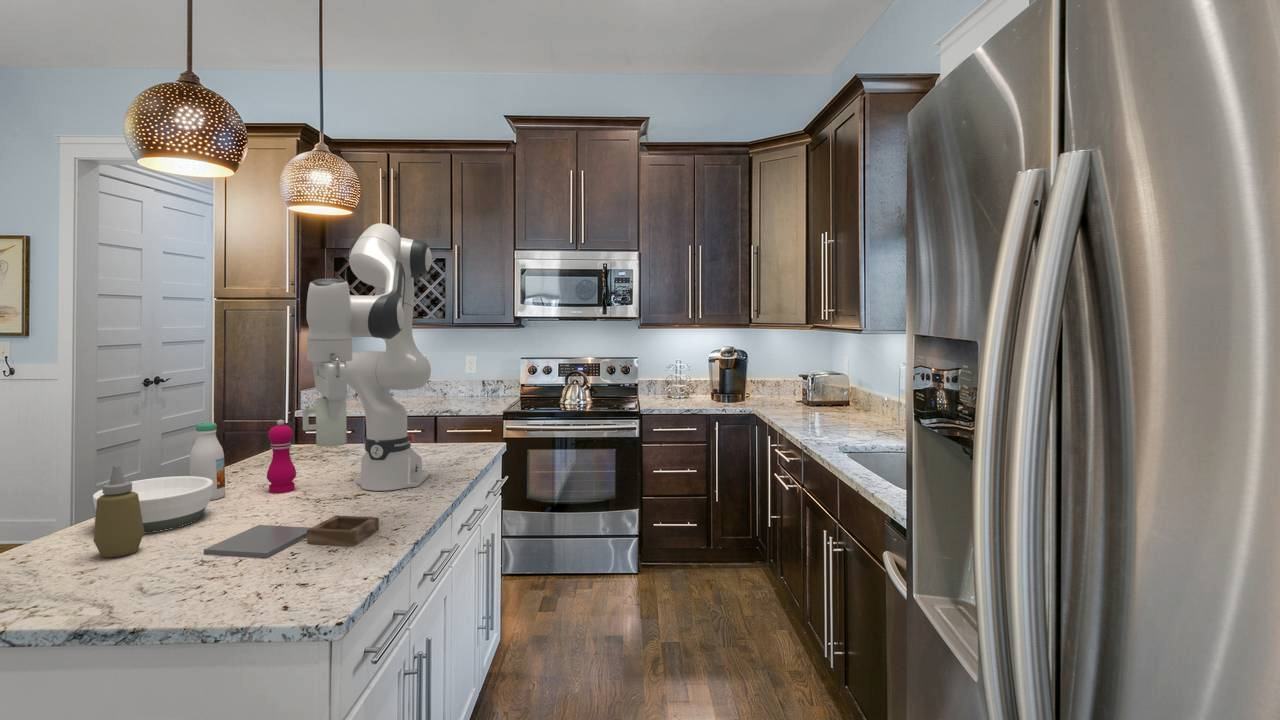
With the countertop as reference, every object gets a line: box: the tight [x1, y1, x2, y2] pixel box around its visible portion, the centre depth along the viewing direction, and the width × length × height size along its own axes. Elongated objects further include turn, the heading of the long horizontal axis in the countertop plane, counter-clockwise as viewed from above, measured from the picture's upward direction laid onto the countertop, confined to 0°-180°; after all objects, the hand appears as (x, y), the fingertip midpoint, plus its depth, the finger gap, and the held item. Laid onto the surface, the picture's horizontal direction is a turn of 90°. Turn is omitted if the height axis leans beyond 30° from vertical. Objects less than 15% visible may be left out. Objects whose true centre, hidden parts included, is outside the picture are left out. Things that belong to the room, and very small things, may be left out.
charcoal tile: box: [203, 524, 312, 559], centre depth 137 cm, size 16×14×1 cm
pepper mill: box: [266, 419, 297, 494], centre depth 178 cm, size 7×7×20 cm
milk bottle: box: [189, 422, 226, 501], centre depth 170 cm, size 8×8×20 cm
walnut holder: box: [306, 515, 380, 547], centre depth 141 cm, size 10×10×3 cm
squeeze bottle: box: [93, 465, 145, 558], centre depth 130 cm, size 8×8×18 cm
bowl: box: [92, 475, 213, 533], centre depth 150 cm, size 22×22×8 cm
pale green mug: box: [302, 397, 348, 448], centre depth 139 cm, size 8×6×10 cm
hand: (331, 416), depth 139 cm, fingers closed on pale green mug, 6 cm apart
